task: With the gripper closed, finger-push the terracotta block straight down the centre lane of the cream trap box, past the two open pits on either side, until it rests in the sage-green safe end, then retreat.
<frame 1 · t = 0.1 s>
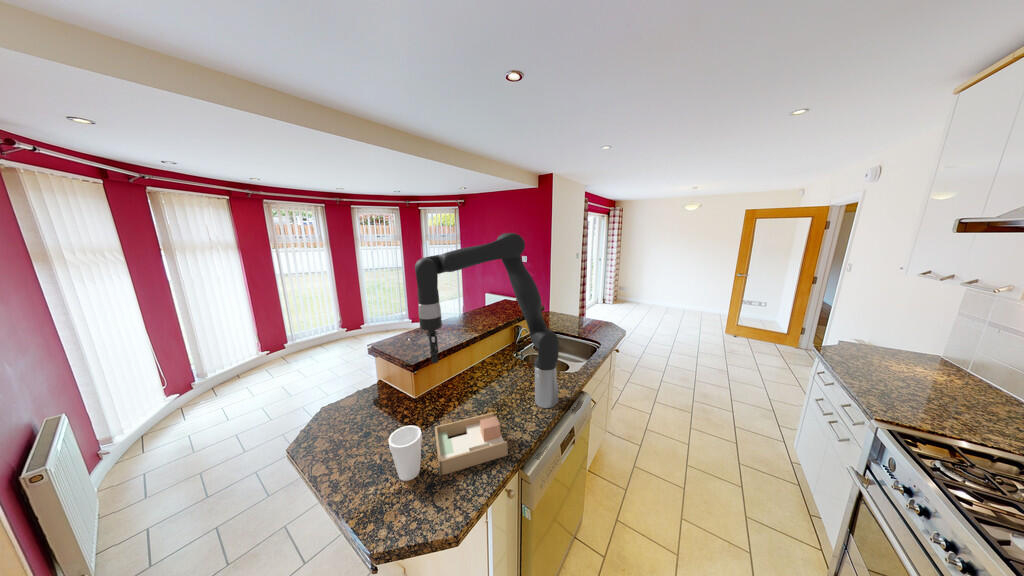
hand: (434, 357, 101), 29 cm above the countertop, fingers open, 8 cm apart
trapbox: (470, 446, 97), on the countertop
block: (490, 434, 99), point 2 cm above the countertop, touching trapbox
foam cup: (409, 472, 88), on the countertop
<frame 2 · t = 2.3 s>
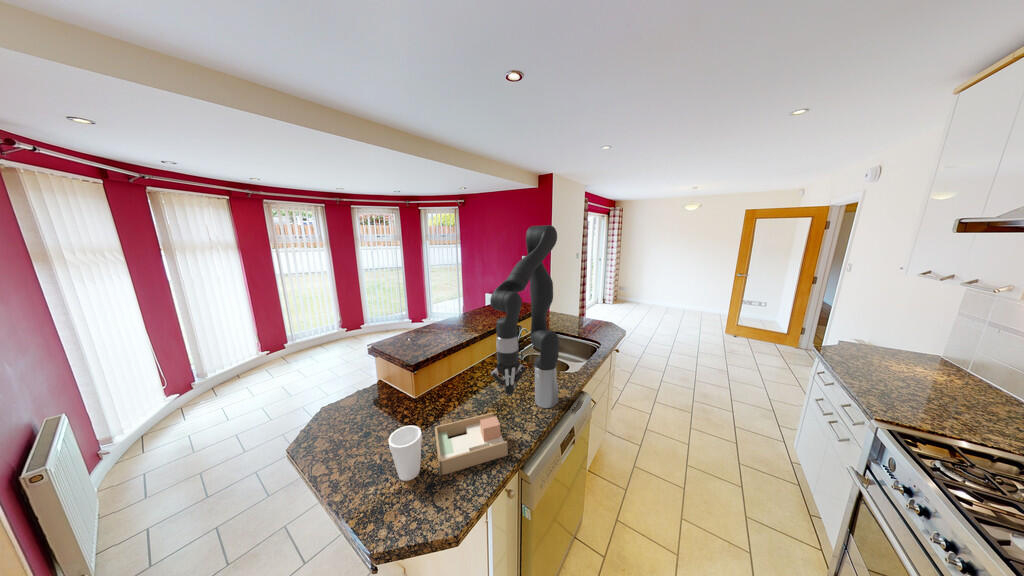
hand: (509, 393, 99), 17 cm above the countertop, fingers closed
nothing on the countertop moved.
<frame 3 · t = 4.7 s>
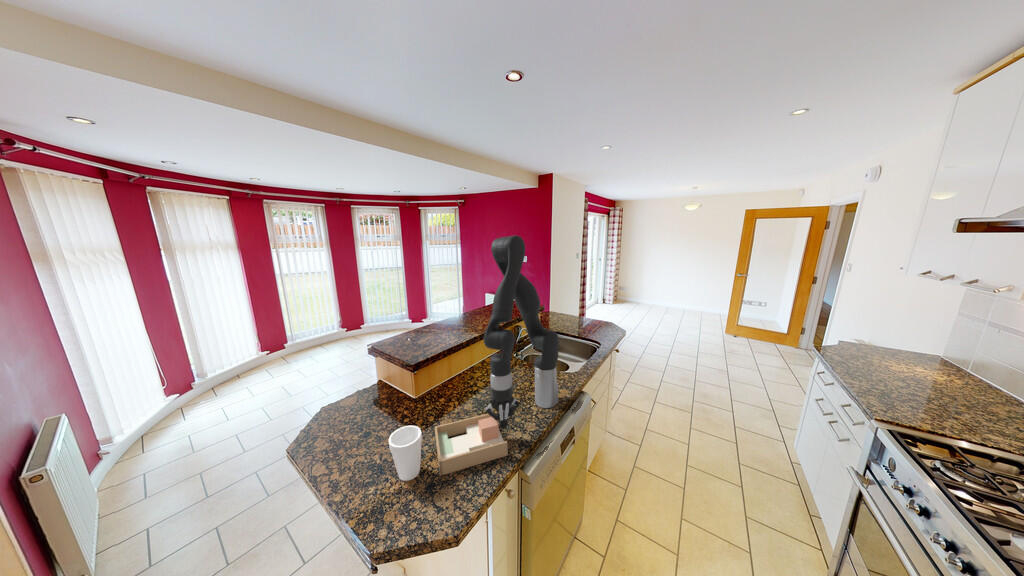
hand: (503, 427, 100), 4 cm above the countertop, fingers closed
block: (488, 434, 99), point 2 cm above the countertop, touching gripper, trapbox
everything else where it was.
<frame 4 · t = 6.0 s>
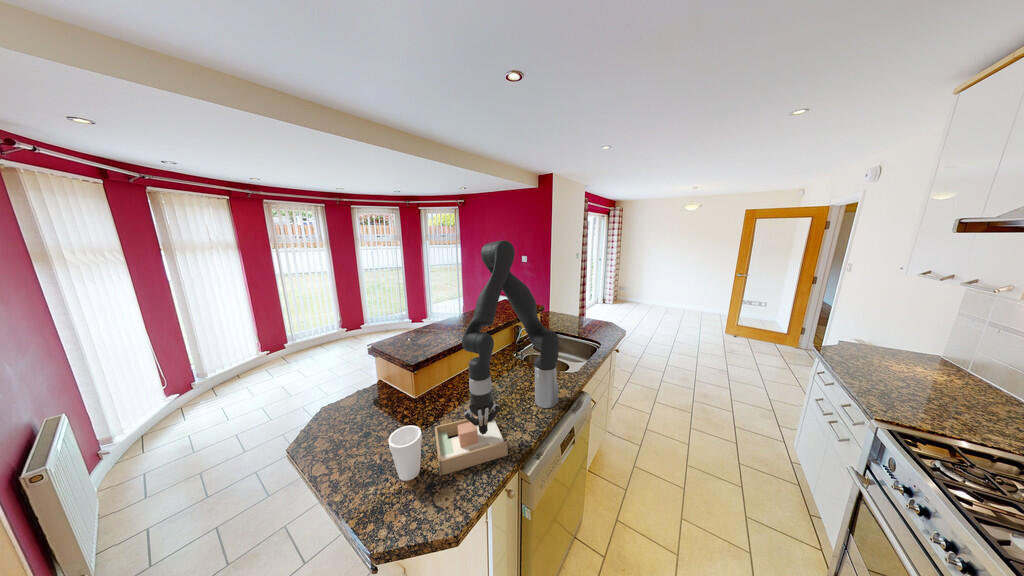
hand: (483, 432, 98), 4 cm above the countertop, fingers closed
block: (468, 440, 97), point 3 cm above the countertop, touching gripper
everything else where it was.
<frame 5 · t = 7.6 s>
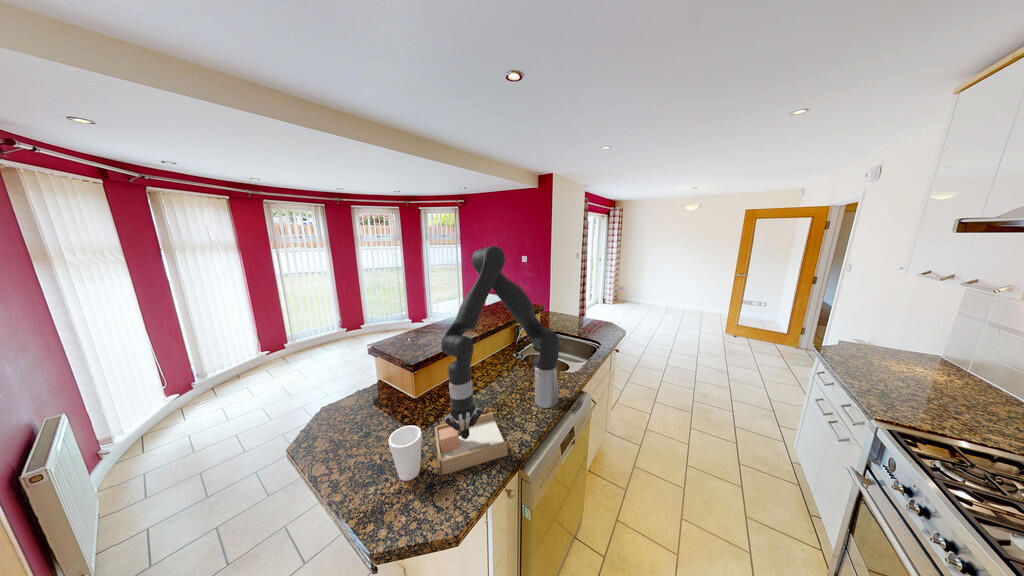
hand: (465, 437, 96), 4 cm above the countertop, fingers closed
block: (449, 445, 95), point 2 cm above the countertop, touching gripper, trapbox
everything else where it was.
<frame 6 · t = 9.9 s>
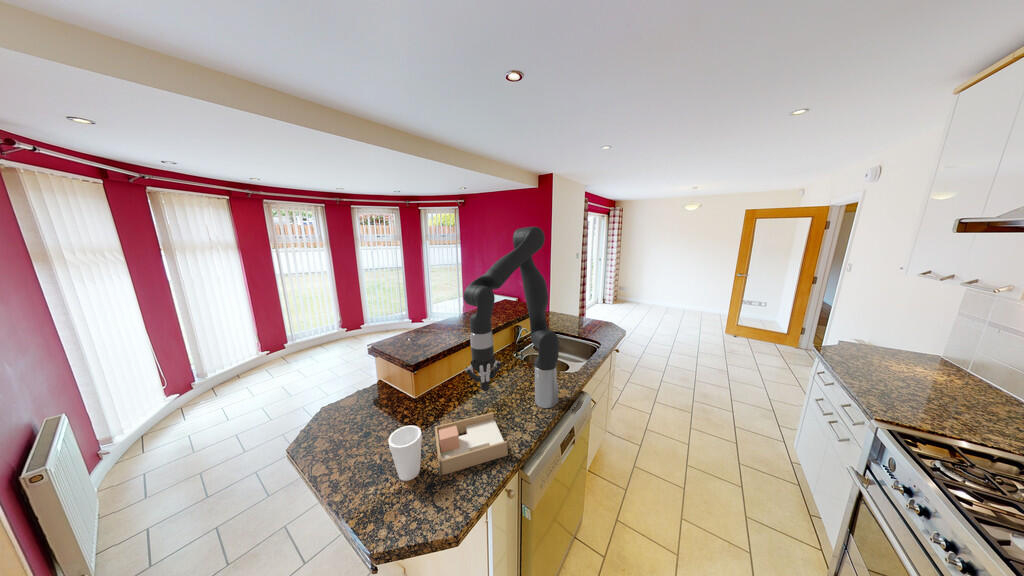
hand: (485, 390, 97), 19 cm above the countertop, fingers closed
block: (449, 445, 95), point 2 cm above the countertop, touching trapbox
everything else where it was.
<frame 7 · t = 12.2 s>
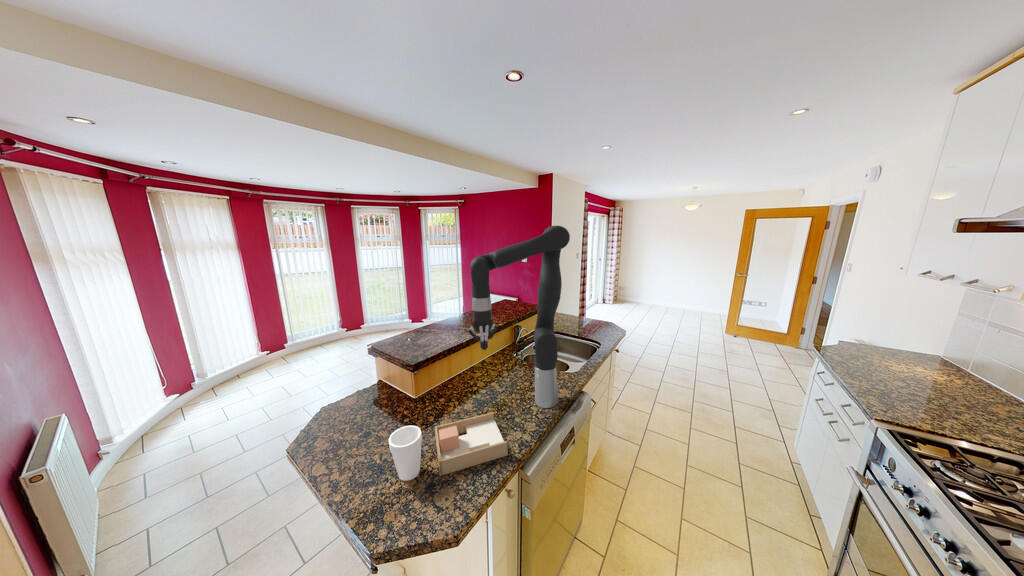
hand: (484, 349, 113), 27 cm above the countertop, fingers closed
nothing on the countertop moved.
at the end: block inside the target area on the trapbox (0.5 cm from its centre), point 2.5 cm above the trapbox's base; block tilted 0° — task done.
